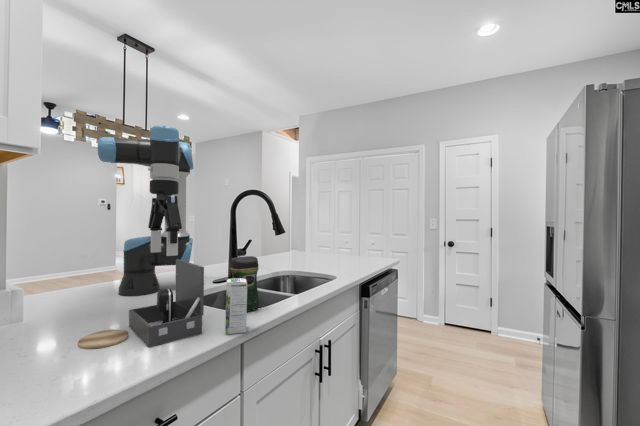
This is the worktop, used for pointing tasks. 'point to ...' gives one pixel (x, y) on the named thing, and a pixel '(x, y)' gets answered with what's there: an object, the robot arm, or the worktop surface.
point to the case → (174, 310)
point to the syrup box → (236, 306)
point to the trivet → (103, 339)
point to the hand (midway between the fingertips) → (163, 254)
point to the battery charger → (165, 304)
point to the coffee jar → (247, 277)
